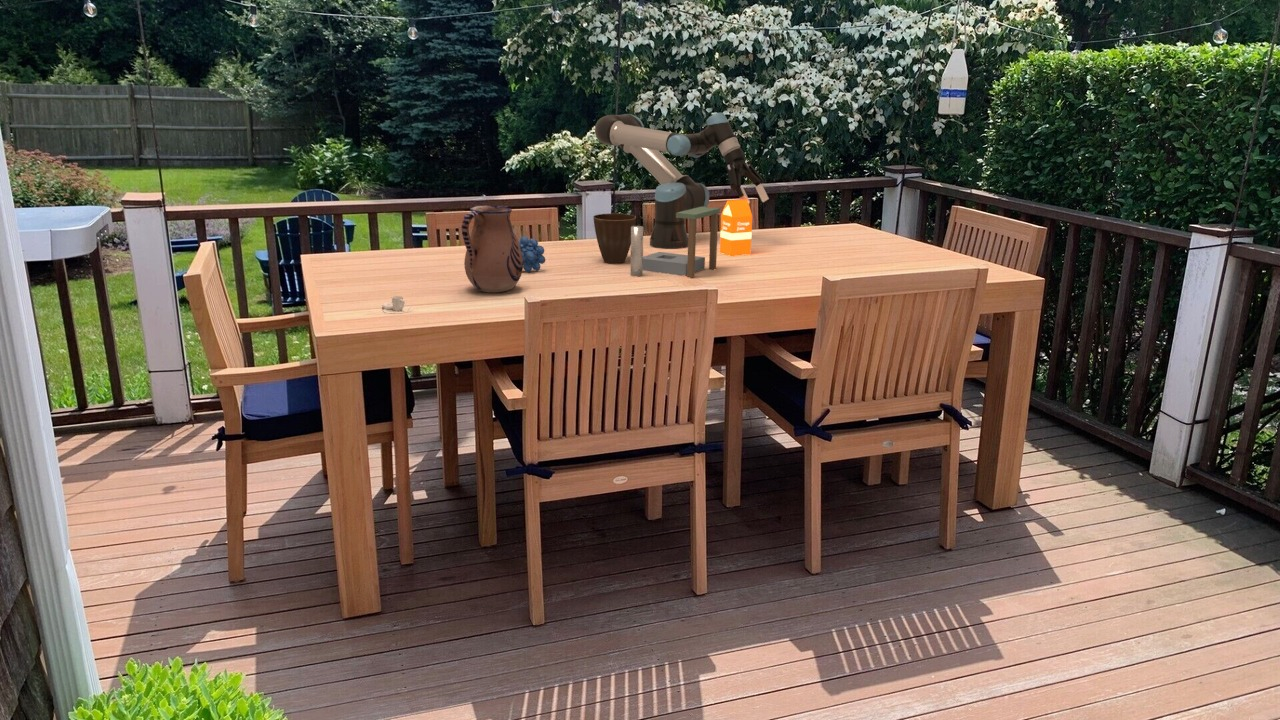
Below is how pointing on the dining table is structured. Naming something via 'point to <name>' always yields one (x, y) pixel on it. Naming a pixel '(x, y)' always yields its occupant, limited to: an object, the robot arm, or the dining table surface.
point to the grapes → (531, 254)
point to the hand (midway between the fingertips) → (756, 202)
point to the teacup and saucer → (395, 305)
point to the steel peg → (636, 250)
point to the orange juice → (736, 228)
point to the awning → (692, 217)
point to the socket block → (670, 263)
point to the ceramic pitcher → (491, 249)
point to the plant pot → (614, 236)
